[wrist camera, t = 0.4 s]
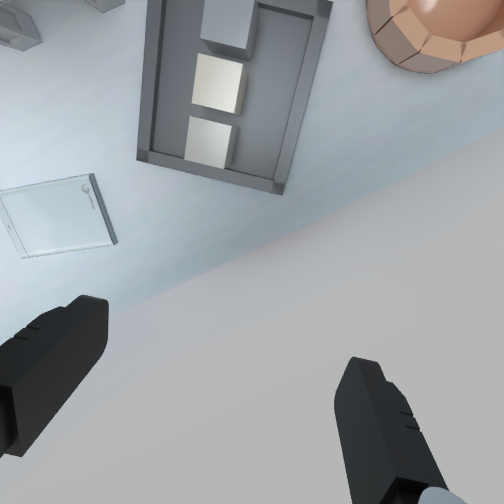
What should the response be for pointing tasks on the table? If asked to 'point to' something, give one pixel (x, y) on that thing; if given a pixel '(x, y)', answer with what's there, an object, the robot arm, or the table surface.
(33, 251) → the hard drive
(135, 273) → the table surface
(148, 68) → the tray
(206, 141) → the pale grey cuboid
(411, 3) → the bowl
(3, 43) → the stool
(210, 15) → the light gray block
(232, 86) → the off-white cubic block
